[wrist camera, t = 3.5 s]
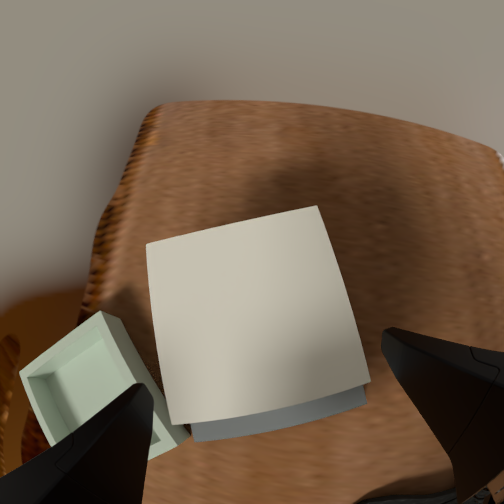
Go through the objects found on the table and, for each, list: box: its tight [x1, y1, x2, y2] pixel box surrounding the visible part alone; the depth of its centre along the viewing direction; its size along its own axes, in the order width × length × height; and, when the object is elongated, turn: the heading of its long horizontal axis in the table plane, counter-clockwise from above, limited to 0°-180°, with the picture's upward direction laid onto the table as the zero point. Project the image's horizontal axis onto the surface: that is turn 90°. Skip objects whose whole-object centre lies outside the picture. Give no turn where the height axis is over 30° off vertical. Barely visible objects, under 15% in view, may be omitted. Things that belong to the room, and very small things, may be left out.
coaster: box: [190, 385, 367, 442], centre depth 19 cm, size 12×12×1 cm
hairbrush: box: [358, 486, 490, 504], centre depth 12 cm, size 8×4×25 cm
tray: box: [19, 310, 190, 460], centre depth 17 cm, size 11×11×3 cm
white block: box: [146, 205, 371, 425], centre depth 13 cm, size 6×6×12 cm
